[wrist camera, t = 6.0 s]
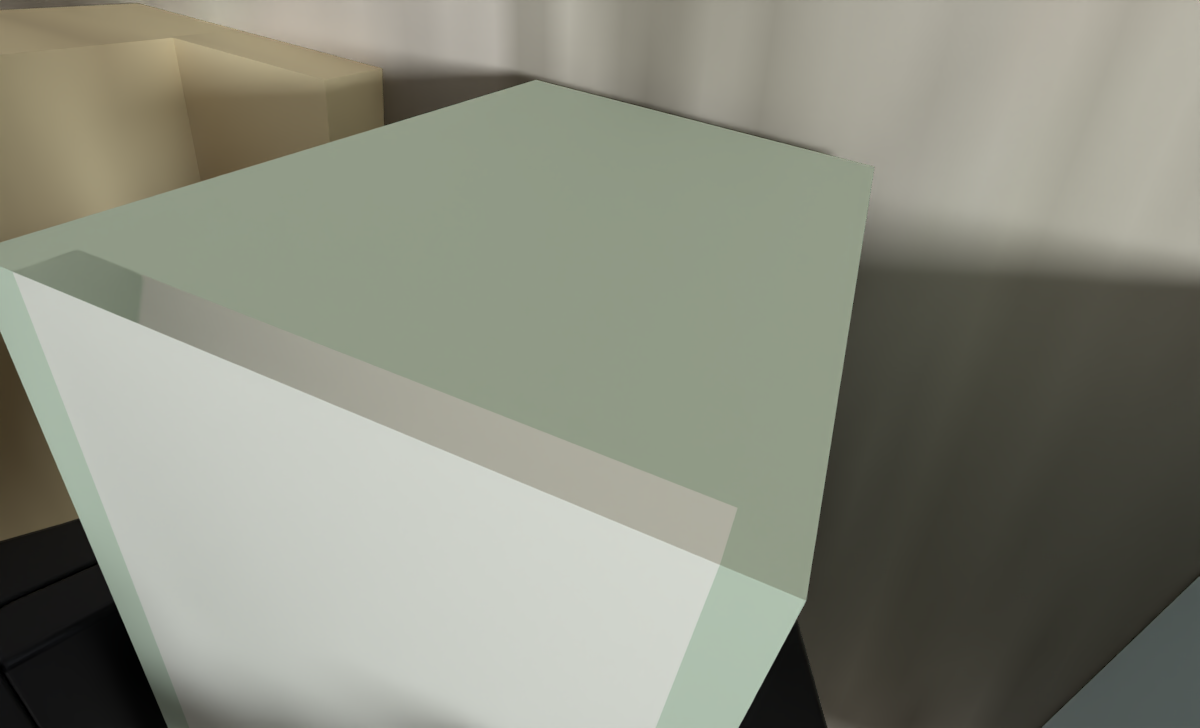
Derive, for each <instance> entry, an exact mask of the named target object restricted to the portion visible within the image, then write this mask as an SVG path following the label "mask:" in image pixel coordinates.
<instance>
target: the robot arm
mask: <svg viewBox="0 0 1200 728" xmlns="http://www.w3.org/2000/svg"><path fill="white" fill-rule="evenodd" d="M0 728H168V727H167V724H166V722H165V720H164V717H163V715H162V712H161V710H160V708H159V705H158V703H157V701H156V698H155V696H154V694H153V691H152V689H151V686H150V684H149V682H148V679H147V677H146V675H145V672H144V670H143V668H142V665H141V663H140V660H139V658H138V656H137V653H136V651H135V649H134V646H133V644H132V642H131V639H130V637H129V634H128V632H127V630H126V627H125V625H124V623H123V620H122V618H121V616H120V613H119V611H118V608H117V606H116V604H115V601H114V599H113V597H112V594H111V592H110V590H109V587H108V585H107V583H106V580H105V578H104V575H103V573H102V571H101V568H100V566H99V564H98V561H97V559H96V557H95V554H94V552H93V549H92V547H91V545H90V542H89V540H88V538H87V535H86V533H85V531H84V528H83V526H82V523H81V521H80V519H79V518H78V519H74V520H71V521H68V522H65V523H62V524H58V525H55V526H51V527H48V528H44V529H41V530H37V531H34V532H30V533H27V534H23V535H20V536H16V537H12V538H9V539H5V540H2V541H0ZM739 728H827V725H826V721H825V717H824V714H823V710H822V707H821V703H820V699H819V696H818V692H817V689H816V685H815V681H814V678H813V674H812V671H811V667H810V663H809V660H808V656H807V653H806V649H805V645H804V642H803V638H802V635H801V631H800V627H799V624H798V620H797V619H796V621H795V623H794V625H793V627H792V628H791V630H790V632H789V634H788V636H787V638H786V640H785V642H784V643H783V645H782V647H781V649H780V651H779V653H778V655H777V657H776V658H775V660H774V662H773V664H772V666H771V668H770V670H769V672H768V673H767V675H766V677H765V679H764V681H763V683H762V685H761V687H760V688H759V690H758V692H757V694H756V696H755V698H754V700H753V702H752V703H751V705H750V707H749V709H748V711H747V713H746V715H745V717H744V718H743V720H742V722H741V724H740V726H739Z"/></svg>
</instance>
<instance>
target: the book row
mask: <svg viewBox="0 0 1200 728" xmlns="http://www.w3.org/2000/svg"><path fill="white" fill-rule="evenodd" d="M1042 728H1200V576H1199V577H1198V578H1197V579H1196V580H1195V581H1194V582H1193V583H1192V584H1191V585H1190V586H1189V587H1188V588H1187V589H1186V590H1185V591H1183V592H1182V593H1181V594H1180V595H1179V596H1178V597H1177V598H1176V599H1175V600H1174V601H1173V602H1172V603H1171V604H1170V605H1169V606H1168V607H1167V608H1166V609H1165V610H1164V611H1163V612H1162V613H1161V614H1159V615H1158V616H1157V617H1156V618H1155V619H1154V620H1153V621H1152V622H1151V623H1150V624H1149V625H1148V626H1147V627H1146V628H1145V629H1144V630H1143V631H1142V632H1141V633H1140V634H1139V635H1138V636H1137V637H1135V638H1134V639H1133V640H1132V641H1131V642H1130V643H1129V644H1128V645H1127V646H1126V647H1125V648H1124V649H1123V650H1122V651H1121V652H1120V653H1119V654H1118V655H1117V656H1116V657H1115V658H1114V659H1113V660H1111V661H1110V662H1109V663H1108V664H1107V665H1106V666H1105V667H1104V668H1103V669H1102V670H1101V671H1100V672H1099V673H1098V674H1097V675H1096V676H1095V677H1094V678H1093V679H1092V680H1091V681H1090V682H1089V683H1087V684H1086V685H1085V686H1084V687H1083V688H1082V689H1081V690H1080V691H1079V692H1078V693H1077V694H1076V695H1075V696H1074V697H1073V698H1072V699H1071V700H1070V701H1069V702H1068V703H1067V704H1066V705H1065V706H1063V707H1062V708H1061V709H1060V710H1059V711H1058V712H1057V713H1056V714H1055V715H1054V716H1053V717H1052V718H1051V719H1050V720H1049V721H1048V722H1047V723H1046V724H1045V725H1044V726H1043V727H1042Z"/></svg>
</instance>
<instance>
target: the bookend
mask: <svg viewBox="0 0 1200 728" xmlns="http://www.w3.org/2000/svg"><path fill="white" fill-rule="evenodd" d="M382 126H384V107H383V76H382V68H379V67H375V66H371V65H367V64H364V63H360V62H356V61H352V60H349V59H345V58H341V57H337V56H334V55H330V54H326V53H322V52H319V51H315V50H311V49H307V48H304V47H300V46H296V45H292V44H289V43H285V42H281V41H277V40H274V39H270V38H266V37H262V36H259V35H255V34H251V33H247V32H244V31H240V30H236V29H233V28H229V27H225V26H221V25H218V24H214V23H210V22H206V21H203V20H199V19H195V18H191V17H188V16H184V15H180V14H176V13H173V12H169V11H165V10H161V9H158V8H154V7H150V6H146V5H143V4H139V3H131V4H111V5H91V6H71V7H51V8H31V9H11V10H0V242H4V241H7V240H10V239H13V238H17V237H20V236H23V235H27V234H30V233H33V232H36V231H40V230H43V229H46V228H50V227H53V226H56V225H59V224H63V223H66V222H69V221H73V220H76V219H79V218H83V217H86V216H89V215H92V214H96V213H99V212H102V211H106V210H109V209H112V208H115V207H119V206H122V205H125V204H129V203H132V202H135V201H139V200H142V199H145V198H148V197H152V196H155V195H158V194H162V193H165V192H168V191H171V190H175V189H178V188H181V187H185V186H188V185H191V184H195V183H198V182H201V181H204V180H208V179H211V178H214V177H218V176H221V175H224V174H227V173H231V172H234V171H237V170H241V169H244V168H247V167H250V166H254V165H257V164H260V163H264V162H267V161H270V160H274V159H277V158H280V157H283V156H287V155H290V154H293V153H297V152H300V151H303V150H306V149H310V148H313V147H316V146H320V145H323V144H326V143H330V142H333V141H336V140H339V139H343V138H346V137H349V136H353V135H356V134H359V133H362V132H366V131H369V130H372V129H376V128H379V127H382ZM78 518H79V516H78V514H77V512H76V509H75V507H74V505H73V502H72V500H71V497H70V495H69V493H68V490H67V488H66V486H65V483H64V481H63V479H62V476H61V474H60V471H59V469H58V467H57V464H56V462H55V460H54V457H53V455H52V453H51V450H50V448H49V445H48V443H47V441H46V438H45V436H44V434H43V431H42V429H41V427H40V424H39V422H38V420H37V417H36V415H35V412H34V410H33V408H32V405H31V403H30V401H29V398H28V396H27V394H26V391H25V389H24V386H23V384H22V382H21V379H20V377H19V375H18V372H17V370H16V368H15V365H14V363H13V360H12V358H11V356H10V353H9V351H8V349H7V346H6V344H5V342H4V339H3V337H2V334H1V332H0V541H2V540H5V539H9V538H12V537H16V536H20V535H23V534H27V533H30V532H34V531H37V530H41V529H44V528H48V527H51V526H55V525H58V524H62V523H65V522H68V521H71V520H74V519H78Z"/></svg>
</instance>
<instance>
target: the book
mask: <svg viewBox="0 0 1200 728" xmlns="http://www.w3.org/2000/svg"><path fill="white" fill-rule="evenodd" d="M873 174H874V167H873V166H869V165H866V164H862V163H858V162H854V161H850V160H846V159H842V158H838V157H834V156H831V155H827V154H823V153H819V152H815V151H811V150H807V149H803V148H799V147H795V146H792V145H788V144H784V143H780V142H776V141H772V140H768V139H764V138H760V137H757V136H753V135H749V134H745V133H741V132H737V131H733V130H729V129H725V128H722V127H718V126H714V125H710V124H706V123H702V122H698V121H694V120H690V119H687V118H683V117H679V116H675V115H671V114H667V113H663V112H659V111H655V110H651V109H648V108H644V107H640V106H636V105H632V104H628V103H624V102H620V101H616V100H613V99H609V98H605V97H601V96H597V95H593V94H589V93H585V92H581V91H578V90H574V89H570V88H566V87H562V86H558V85H554V84H550V83H546V82H543V81H539V80H534V81H530V82H527V83H524V84H521V85H517V86H514V87H511V88H507V89H504V90H501V91H497V92H494V93H491V94H488V95H484V96H481V97H478V98H474V99H471V100H468V101H465V102H461V103H458V104H455V105H451V106H448V107H445V108H441V109H438V110H435V111H432V112H428V113H425V114H422V115H418V116H415V117H412V118H409V119H405V120H402V121H399V122H395V123H392V124H389V125H385V126H382V127H379V128H376V129H372V130H369V131H366V132H362V133H359V134H356V135H353V136H349V137H346V138H343V139H339V140H336V141H333V142H330V143H326V144H323V145H320V146H316V147H313V148H310V149H306V150H303V151H300V152H297V153H293V154H290V155H287V156H283V157H280V158H277V159H274V160H270V161H267V162H264V163H260V164H257V165H254V166H250V167H247V168H244V169H241V170H237V171H234V172H231V173H227V174H224V175H221V176H218V177H214V178H211V179H208V180H204V181H201V182H198V183H195V184H191V185H188V186H185V187H181V188H178V189H175V190H171V191H168V192H165V193H162V194H158V195H155V196H152V197H148V198H145V199H142V200H139V201H135V202H132V203H129V204H125V205H122V206H119V207H115V208H112V209H109V210H106V211H102V212H99V213H96V214H92V215H89V216H86V217H83V218H79V219H76V220H73V221H69V222H66V223H63V224H59V225H56V226H53V227H50V228H46V229H43V230H40V231H36V232H33V233H30V234H27V235H23V236H20V237H17V238H13V239H10V240H7V241H4V242H0V332H1V334H2V337H3V339H4V342H5V344H6V346H7V349H8V351H9V353H10V356H11V358H12V360H13V363H14V365H15V368H16V370H17V372H18V375H19V377H20V379H21V382H22V384H23V386H24V389H25V391H26V394H27V396H28V398H29V401H30V403H31V405H32V408H33V410H34V412H35V415H36V417H37V420H38V422H39V424H40V427H41V429H42V431H43V434H44V436H45V438H46V441H47V443H48V445H49V448H50V450H51V453H52V455H53V457H54V460H55V462H56V464H57V467H58V469H59V471H60V474H61V476H62V479H63V481H64V483H65V486H66V488H67V490H68V493H69V495H70V497H71V500H72V502H73V505H74V507H75V509H76V512H77V514H78V516H79V519H80V521H81V523H82V526H83V528H84V531H85V533H86V535H87V538H88V540H89V542H90V545H91V547H92V549H93V552H94V554H95V557H96V559H97V561H98V564H99V566H100V568H101V571H102V573H103V575H104V578H105V580H106V583H107V585H108V587H109V590H110V592H111V594H112V597H113V599H114V601H115V604H116V606H117V608H118V611H119V613H120V616H121V618H122V620H123V623H124V625H125V627H126V630H127V632H128V634H129V637H130V639H131V642H132V644H133V646H134V649H135V651H136V653H137V656H138V658H139V660H140V663H141V665H142V668H143V670H144V672H145V675H146V677H147V679H148V682H149V684H150V686H151V689H152V691H153V694H154V696H155V698H156V701H157V703H158V705H159V708H160V710H161V712H162V715H163V717H164V720H165V722H166V724H167V727H168V728H739V726H740V724H741V722H742V720H743V718H744V717H745V715H746V713H747V711H748V709H749V707H750V705H751V703H752V702H753V700H754V698H755V696H756V694H757V692H758V690H759V688H760V687H761V685H762V683H763V681H764V679H765V677H766V675H767V673H768V672H769V670H770V668H771V666H772V664H773V662H774V660H775V658H776V657H777V655H778V653H779V651H780V649H781V647H782V645H783V643H784V642H785V640H786V638H787V636H788V634H789V632H790V630H791V628H792V627H793V625H794V623H795V621H796V619H797V617H798V615H799V613H800V612H801V610H802V608H803V606H804V604H805V602H806V599H807V593H808V587H809V580H810V574H811V567H812V561H813V555H814V548H815V542H816V536H817V529H818V523H819V517H820V510H821V504H822V498H823V491H824V485H825V479H826V472H827V466H828V459H829V453H830V447H831V440H832V434H833V428H834V421H835V415H836V409H837V402H838V396H839V390H840V383H841V377H842V371H843V364H844V358H845V351H846V345H847V339H848V332H849V326H850V320H851V313H852V307H853V301H854V294H855V288H856V282H857V275H858V269H859V263H860V256H861V250H862V244H863V237H864V231H865V224H866V218H867V212H868V205H869V199H870V193H871V186H872V180H873Z"/></svg>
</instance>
